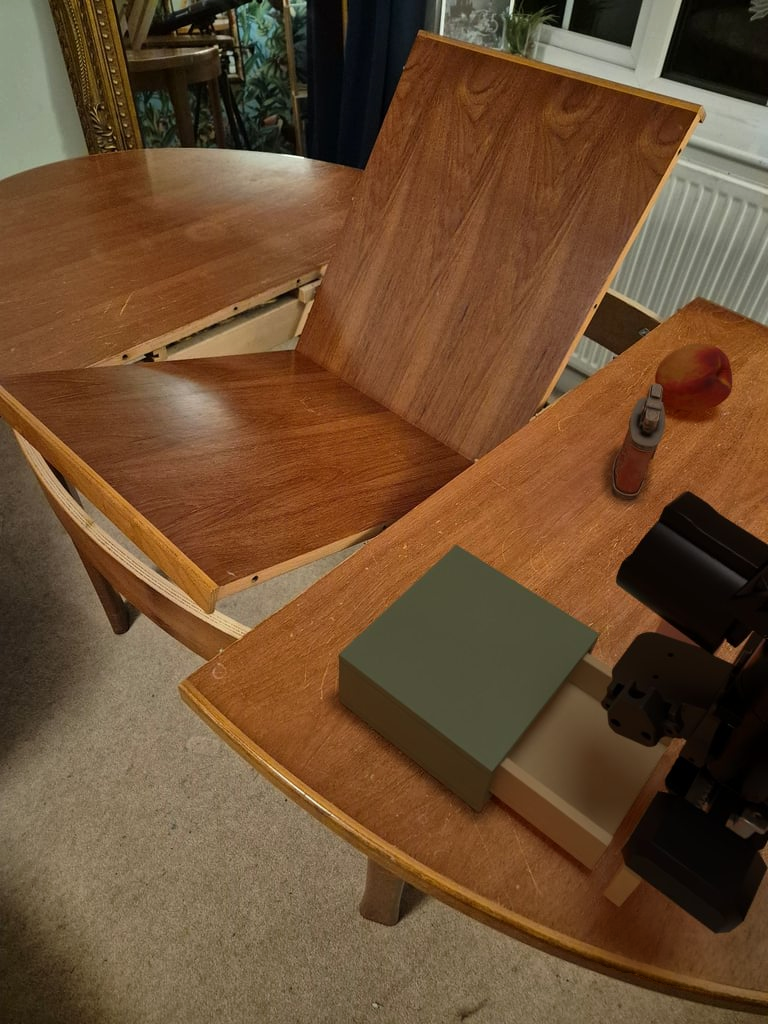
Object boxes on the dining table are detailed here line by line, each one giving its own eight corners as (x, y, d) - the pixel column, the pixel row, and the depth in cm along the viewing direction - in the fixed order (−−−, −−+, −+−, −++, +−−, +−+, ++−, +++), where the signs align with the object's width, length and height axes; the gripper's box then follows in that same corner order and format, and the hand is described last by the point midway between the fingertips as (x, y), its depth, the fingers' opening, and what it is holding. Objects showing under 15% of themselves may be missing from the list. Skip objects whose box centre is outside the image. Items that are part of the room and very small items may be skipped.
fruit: (675, 432, 85) (700, 374, 79) (634, 392, 90) (654, 334, 84) (730, 418, 87) (757, 361, 81) (686, 380, 92) (709, 323, 87)
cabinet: (580, 680, 61) (600, 633, 56) (478, 813, 53) (492, 771, 48) (447, 593, 67) (456, 544, 62) (338, 700, 59) (338, 653, 54)
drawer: (764, 802, 54) (793, 772, 50) (687, 962, 46) (715, 939, 43) (558, 665, 61) (571, 631, 58) (463, 784, 53) (471, 753, 50)
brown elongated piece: (639, 504, 76) (671, 428, 69) (606, 496, 77) (634, 420, 70) (646, 456, 82) (676, 381, 74) (615, 449, 82) (641, 373, 75)
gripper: (719, 522, 47) (645, 660, 58) (569, 726, 36) (514, 847, 47) (908, 619, 42) (788, 749, 53) (798, 886, 31) (677, 978, 43)
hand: (693, 819), depth 49 cm, fingers closed
